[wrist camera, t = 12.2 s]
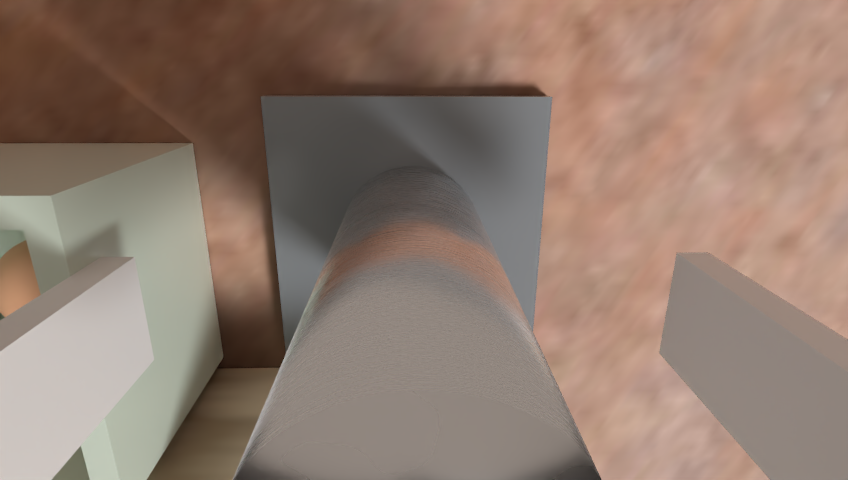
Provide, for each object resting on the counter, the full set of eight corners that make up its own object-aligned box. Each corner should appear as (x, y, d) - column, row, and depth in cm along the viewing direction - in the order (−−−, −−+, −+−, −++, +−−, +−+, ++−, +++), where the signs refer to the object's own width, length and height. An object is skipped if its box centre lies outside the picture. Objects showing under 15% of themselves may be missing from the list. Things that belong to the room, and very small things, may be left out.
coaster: (289, 344, 19) (285, 352, 19) (265, 95, 16) (260, 96, 16) (527, 341, 19) (531, 349, 19) (547, 95, 16) (552, 96, 16)
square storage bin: (5, 359, 19) (-209, 517, 12) (-60, 143, 16) (-377, 197, 10) (223, 356, 19) (127, 511, 13) (192, 142, 17) (50, 195, 10)
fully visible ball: (48, 305, 18) (-21, 352, 15) (26, 222, 17) (-53, 255, 14) (136, 304, 18) (84, 350, 15) (119, 222, 17) (60, 254, 14)
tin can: (346, 296, 18) (239, 697, 7) (340, 166, 16) (185, 393, 5) (477, 295, 18) (593, 686, 7) (482, 165, 17) (642, 387, 5)
